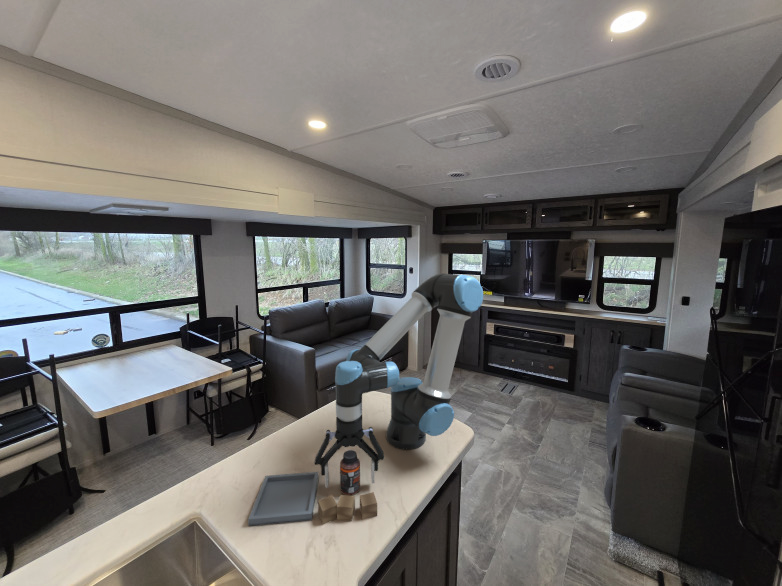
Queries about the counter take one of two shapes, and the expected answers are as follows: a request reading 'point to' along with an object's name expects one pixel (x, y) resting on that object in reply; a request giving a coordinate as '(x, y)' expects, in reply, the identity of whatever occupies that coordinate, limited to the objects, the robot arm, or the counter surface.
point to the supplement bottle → (350, 473)
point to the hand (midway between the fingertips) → (350, 482)
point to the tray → (285, 499)
